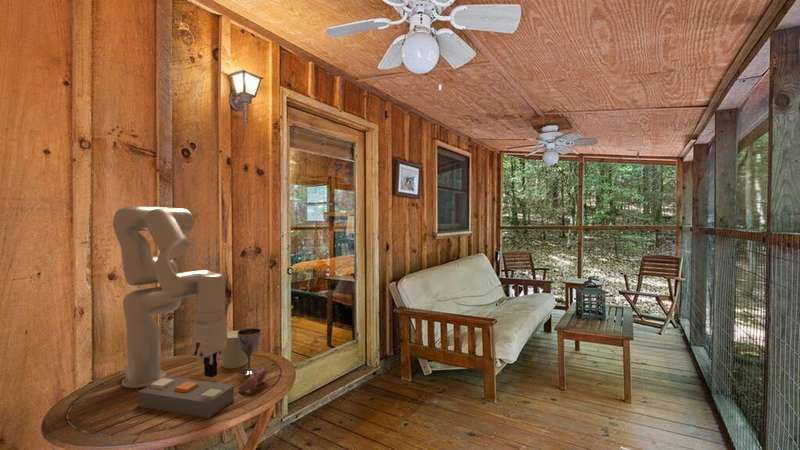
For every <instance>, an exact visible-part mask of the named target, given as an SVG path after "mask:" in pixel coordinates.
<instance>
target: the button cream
mask: <svg viewBox="0 0 800 450" xmlns="http://www.w3.org/2000/svg"><path fill="white" fill-rule="evenodd" d="M172 384H174V380H173V379H166V377H165V378H162V379H160V380H158V381H156V382H154V383H152V384H151V388H155V389H162V390H163V389H165V388H166V387H168V386H170V385H172Z"/></svg>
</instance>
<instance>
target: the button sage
mask: <svg viewBox="0 0 800 450" xmlns="http://www.w3.org/2000/svg"><path fill="white" fill-rule="evenodd" d="M222 391H223V390H220V389H213V388H210V389H209V390H207V391H205V392H204V393H202V394H201V396H208V397H214V396H215V395H217V394H219V393H220V392H222Z"/></svg>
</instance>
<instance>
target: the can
mask: <svg viewBox="0 0 800 450" xmlns="http://www.w3.org/2000/svg"><path fill="white" fill-rule="evenodd" d="M238 331H239V330H232V331H231V330H230V331H227V346H226V347H225V350H224V351H223V352H222V353H221V367H222V368H225V369H237V368H242V367H244V366H246V365H248V358H247V355H246V354H245V353H244V352H243V351H242V350H241V349H240V347H239V344H238V337H237V333H238Z"/></svg>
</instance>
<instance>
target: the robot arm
mask: <svg viewBox="0 0 800 450" xmlns="http://www.w3.org/2000/svg"><path fill="white" fill-rule="evenodd" d="M112 226H113V227H112V228H113V231H114V234H115V237H116V239H117V241H118V243H119V245H120V249H121V258H122V267H123V272H124V278H125V279H124V280H125V281H126V283H127V284H128V285H129V286H134V287H135V286H136V287H137V286H138V287H139V286H147V285H153V284H159V286H156V287H147V288H142V289H137V290H133V291H131V292H129V293H127V294H126V295H125V296H124V298H123V300H122V310H123V312H124V318H125V324H126V326H125V327H126V350H127V351H126V356H127V357H126V361H127V363H126V365H125V366H124V368H123V369H122V368H121V370H120V374H125V378H123V379H122V381H121V385H122V387H123V388H127V389H139V388H141V389H142V388H146V387H148V386H150V385H151V384H152V383H154V382H156V381H158V380H160V379H162V378H166V377H167V373H166V371H164V370H162V369H161V368H162V367H161V327H160V325H159V323H158V322H157V321H156V320H155V319H154V318H153V317H154V316H157V315H161V314H166V313H169V312H173V311H176V310H177V309H178V308H179V307H180V306H181V304H182V299H183V298H189V297H193V296H194V297H195V296H196V321H195V322H194V325H193V330H192V337H191V338H192V339H191V349H190V350H191V356H193V357H195V363H202V364H204V367H203V368H204V372H203V373H204V375H203V376H204V377H209V378H214V377H216V376H218V362H219V360H220V355H222V352H223V351H224V350H225V347H226V346H227V332H228V325H227V319H226V316H225V315H226V312H225V311H226V300H225V299H226V279H225V275H223V274H222V273H219V272H213V271H211V270H208V269H197V270H190V271H189V270H188V271H181V272H179V269H178V265H177V263H176V261H175V260H174V259H176V258H177V257H180V256H181V255H183V254H184V253H186V251H188V249H189V248H190V241H189V239H188V237H187V236H186V233H190V232H191V231H192V230H193V229H194V228H195V218H194V216H193V214H192V212H190V210H188V209H186V208H178V207H170V206H145V205H142V206H141V205H137V206H134V205H133V206H124V207H121V208H119V209H118V210H117V211H115V214H114V215H113V219H112ZM141 232H149V234H150V235H151V238H152V240H153V241H154V243H155V246H156V247H157V249H158V250H159V255H157V256H155V255H154V256H153V253H152V245H151V243H150V241H149V240H148V238H147V237H146V236H145V235H144V234H142V233H141Z"/></svg>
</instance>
